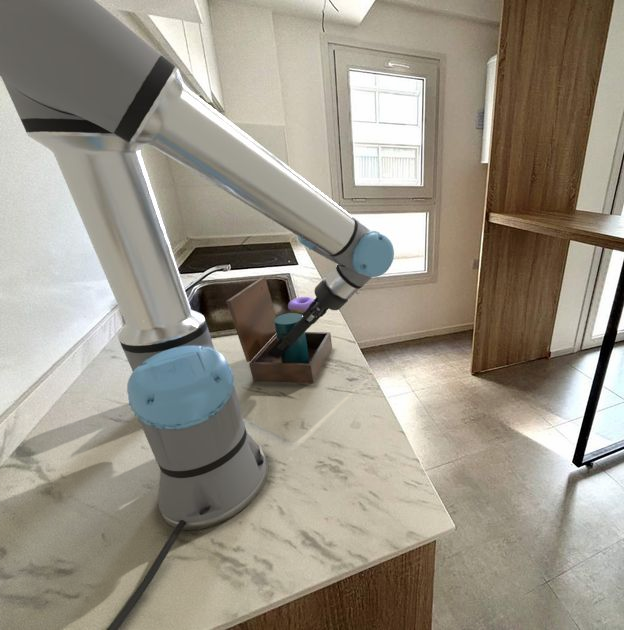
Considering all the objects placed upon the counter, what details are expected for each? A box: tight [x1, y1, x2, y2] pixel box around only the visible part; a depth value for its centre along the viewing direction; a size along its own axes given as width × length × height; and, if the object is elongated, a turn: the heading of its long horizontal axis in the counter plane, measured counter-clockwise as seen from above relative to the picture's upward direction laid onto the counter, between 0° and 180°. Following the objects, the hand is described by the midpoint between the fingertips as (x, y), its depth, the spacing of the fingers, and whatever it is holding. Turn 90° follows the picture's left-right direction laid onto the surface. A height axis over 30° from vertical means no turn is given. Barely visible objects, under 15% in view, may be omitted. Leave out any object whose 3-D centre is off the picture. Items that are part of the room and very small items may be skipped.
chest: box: [248, 331, 333, 384], centre depth 86 cm, size 15×17×6 cm
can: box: [274, 312, 309, 364], centre depth 84 cm, size 7×7×13 cm
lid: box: [225, 276, 277, 363], centre depth 81 cm, size 15×17×1 cm
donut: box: [287, 296, 315, 314], centre depth 119 cm, size 10×9×5 cm
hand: (279, 346), depth 84 cm, fingers open, 7 cm apart
